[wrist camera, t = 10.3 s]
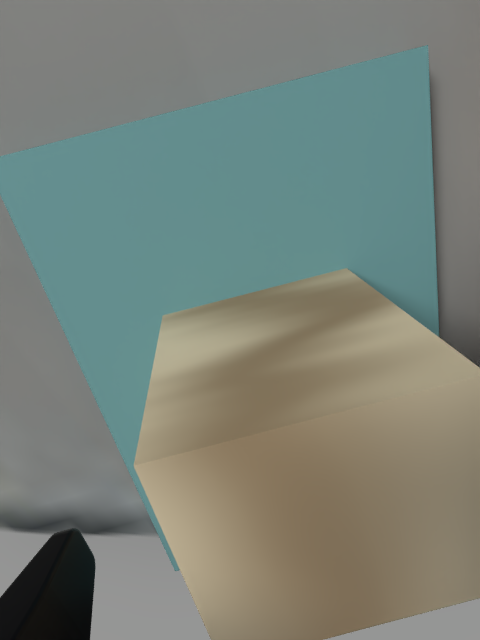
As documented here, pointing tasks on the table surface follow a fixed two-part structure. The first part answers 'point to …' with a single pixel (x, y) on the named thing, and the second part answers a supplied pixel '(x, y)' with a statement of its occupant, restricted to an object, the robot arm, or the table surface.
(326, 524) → the labelled birch box
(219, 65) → the table surface
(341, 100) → the slate-teal mat
